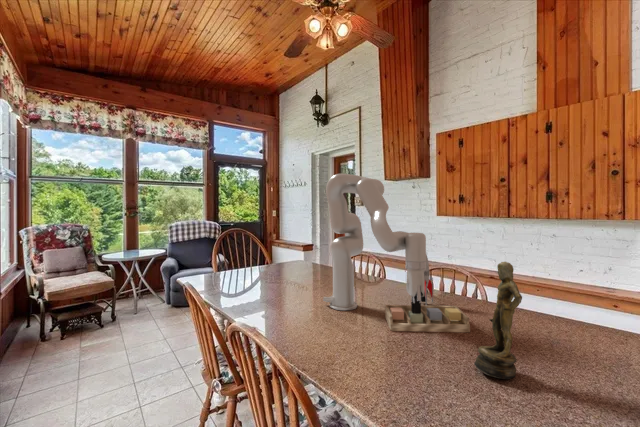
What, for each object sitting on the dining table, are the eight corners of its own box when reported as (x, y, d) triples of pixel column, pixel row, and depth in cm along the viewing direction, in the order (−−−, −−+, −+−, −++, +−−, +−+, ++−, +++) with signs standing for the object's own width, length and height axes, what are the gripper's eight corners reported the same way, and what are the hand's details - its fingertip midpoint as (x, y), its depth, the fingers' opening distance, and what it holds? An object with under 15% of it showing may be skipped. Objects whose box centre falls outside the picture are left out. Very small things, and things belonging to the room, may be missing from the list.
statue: (466, 365, 87) (467, 259, 87) (503, 363, 88) (504, 259, 88) (491, 387, 77) (491, 267, 76) (532, 385, 78) (533, 266, 77)
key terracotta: (392, 319, 117) (392, 311, 117) (390, 315, 121) (390, 307, 121) (403, 319, 116) (403, 311, 116) (401, 315, 121) (401, 307, 121)
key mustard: (449, 320, 115) (449, 312, 115) (445, 316, 120) (445, 308, 120) (461, 320, 115) (461, 312, 115) (456, 316, 119) (456, 308, 119)
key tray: (390, 330, 112) (390, 317, 112) (385, 317, 126) (385, 304, 126) (470, 332, 110) (470, 318, 110) (455, 318, 124) (455, 305, 124)
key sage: (410, 322, 116) (410, 314, 116) (408, 318, 121) (408, 310, 121) (422, 322, 116) (422, 314, 116) (419, 318, 120) (419, 310, 120)
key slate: (429, 319, 116) (429, 311, 116) (426, 315, 120) (426, 308, 120) (441, 320, 115) (441, 312, 115) (438, 315, 120) (438, 308, 120)
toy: (432, 302, 145) (432, 238, 145) (437, 308, 137) (437, 240, 136) (411, 301, 146) (411, 238, 146) (415, 307, 138) (415, 240, 137)
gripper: (401, 261, 126) (402, 306, 126) (409, 269, 111) (410, 319, 111) (420, 261, 125) (421, 306, 125) (431, 269, 110) (431, 320, 110)
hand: (416, 312), depth 118 cm, fingers closed
